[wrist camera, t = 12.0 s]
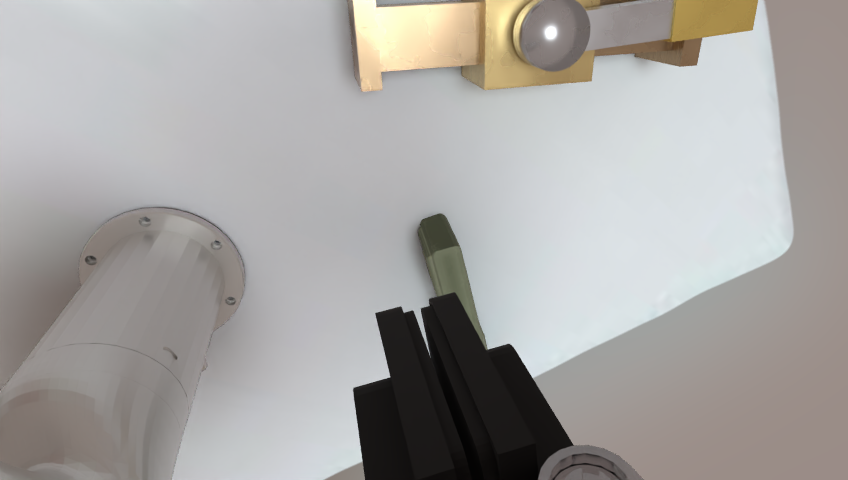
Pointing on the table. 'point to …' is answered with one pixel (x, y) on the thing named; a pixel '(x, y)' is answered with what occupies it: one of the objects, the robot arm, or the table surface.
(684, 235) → the table surface
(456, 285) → the handheld radio
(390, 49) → the valve body
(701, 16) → the lever
